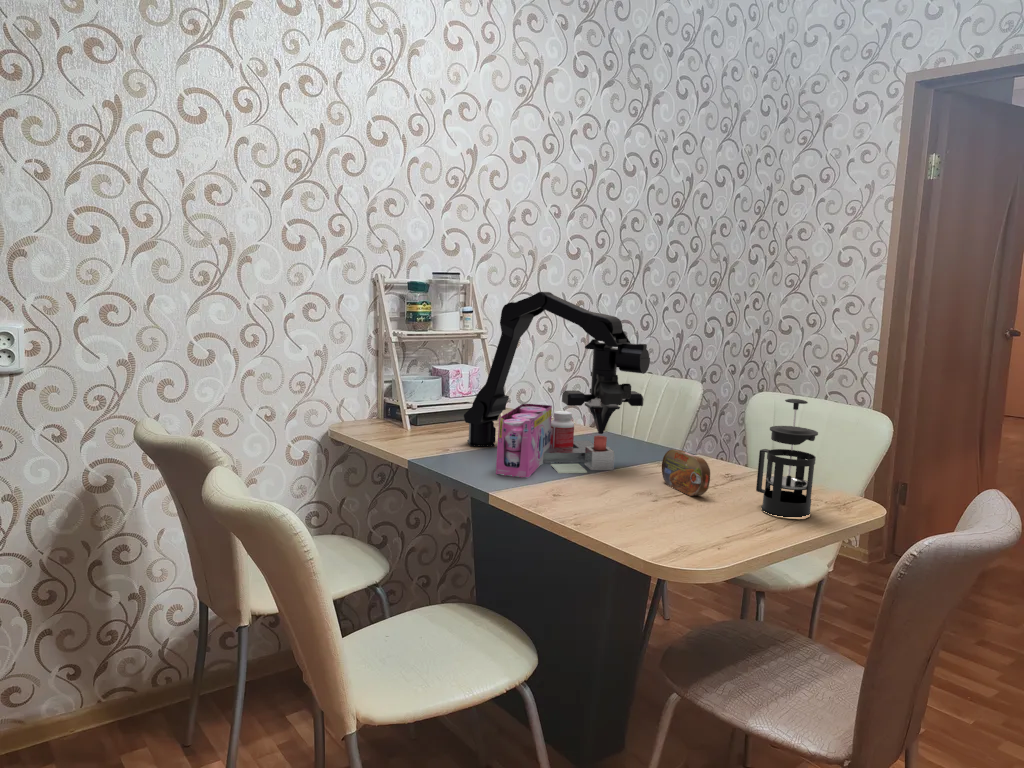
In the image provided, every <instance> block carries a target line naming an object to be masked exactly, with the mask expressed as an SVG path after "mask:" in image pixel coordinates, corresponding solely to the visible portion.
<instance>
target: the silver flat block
mask: <svg viewBox="0 0 1024 768" xmlns="http://www.w3.org/2000/svg"><path fill="white" fill-rule="evenodd" d="M585 446H594V442H591V440H573V448H550V447H549V448H548V449H547V450H546V451H545V452H544V454H543V464H552V463H551V462H556V463H555V464H579V463H581V464H582V463H584V464H585ZM558 462H559V463H558ZM561 462H562V463H561Z"/></svg>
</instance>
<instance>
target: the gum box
mask: <svg viewBox="0 0 1024 768" xmlns="http://www.w3.org/2000/svg"><path fill="white" fill-rule="evenodd" d="M552 409H553V405H551V404H550V405H549V404H548V405H547V404H537V403H535V404H534V403H521V404H519V405H518V406H517V407H515V408H513V409H512V410H510V411H508V412H507V413H504V414H503V415H501V416H499V417H498V431H497V432H498V433H497V447H496V463H495V465H496V467H495V475H497V474H504V475H503V476H506V475H512V476H511V477H514V476H519V477H518V478H523V477H528V478H529V477H530V476H531V475H533V473H535V472H536V471H537V470H538V469H539V468H540V467H541V466H542V465H543V464H544V463H543V454H544V452H545V451H546V450H547V449H548V448H549V447H550V441H551V421H552V412H553V410H552ZM542 463H543V464H542ZM541 464H542V465H541ZM540 465H541V466H540ZM539 466H540V467H539ZM538 467H539V468H538ZM537 468H538V469H537ZM536 469H537V470H536Z"/></svg>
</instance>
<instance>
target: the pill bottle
mask: <svg viewBox="0 0 1024 768" xmlns="http://www.w3.org/2000/svg"><path fill="white" fill-rule="evenodd" d="M552 417H553V420H552V419H551V441H550V448H573V441H574V434H575V423H574V422H573V421H572V420H571V419H572V417H573V413H572V412H571V411H566V410H557V411H553V416H552Z"/></svg>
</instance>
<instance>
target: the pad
mask: <svg viewBox="0 0 1024 768" xmlns="http://www.w3.org/2000/svg"><path fill="white" fill-rule="evenodd" d="M551 466H552V467H553V468H554V469H555V470H556V471H557V472H558V473H557V472H556V471H555V470H554V469H553V468H552V467H551ZM550 467H551V468H552V469H553V470H554V471H555V472H556V473H557V474H588V471H587V470H586V468H584V467H583V466H582V465H581V464H579V463H550Z"/></svg>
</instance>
